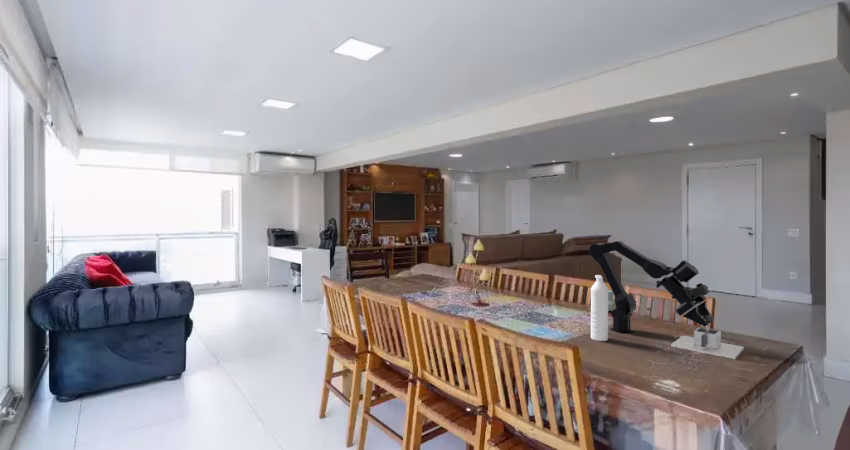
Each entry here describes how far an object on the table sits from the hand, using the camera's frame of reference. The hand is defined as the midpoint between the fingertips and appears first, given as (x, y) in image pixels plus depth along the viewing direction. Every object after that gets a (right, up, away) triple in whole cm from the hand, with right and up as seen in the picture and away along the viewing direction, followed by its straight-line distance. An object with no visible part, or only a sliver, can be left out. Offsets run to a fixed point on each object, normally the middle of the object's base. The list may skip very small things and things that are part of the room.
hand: (709, 323), depth 159 cm
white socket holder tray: (0, -9, +1) cm, 9 cm away
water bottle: (-35, -9, +14) cm, 39 cm away
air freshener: (-13, -7, +59) cm, 61 cm away
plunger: (0, -8, +1) cm, 8 cm away
